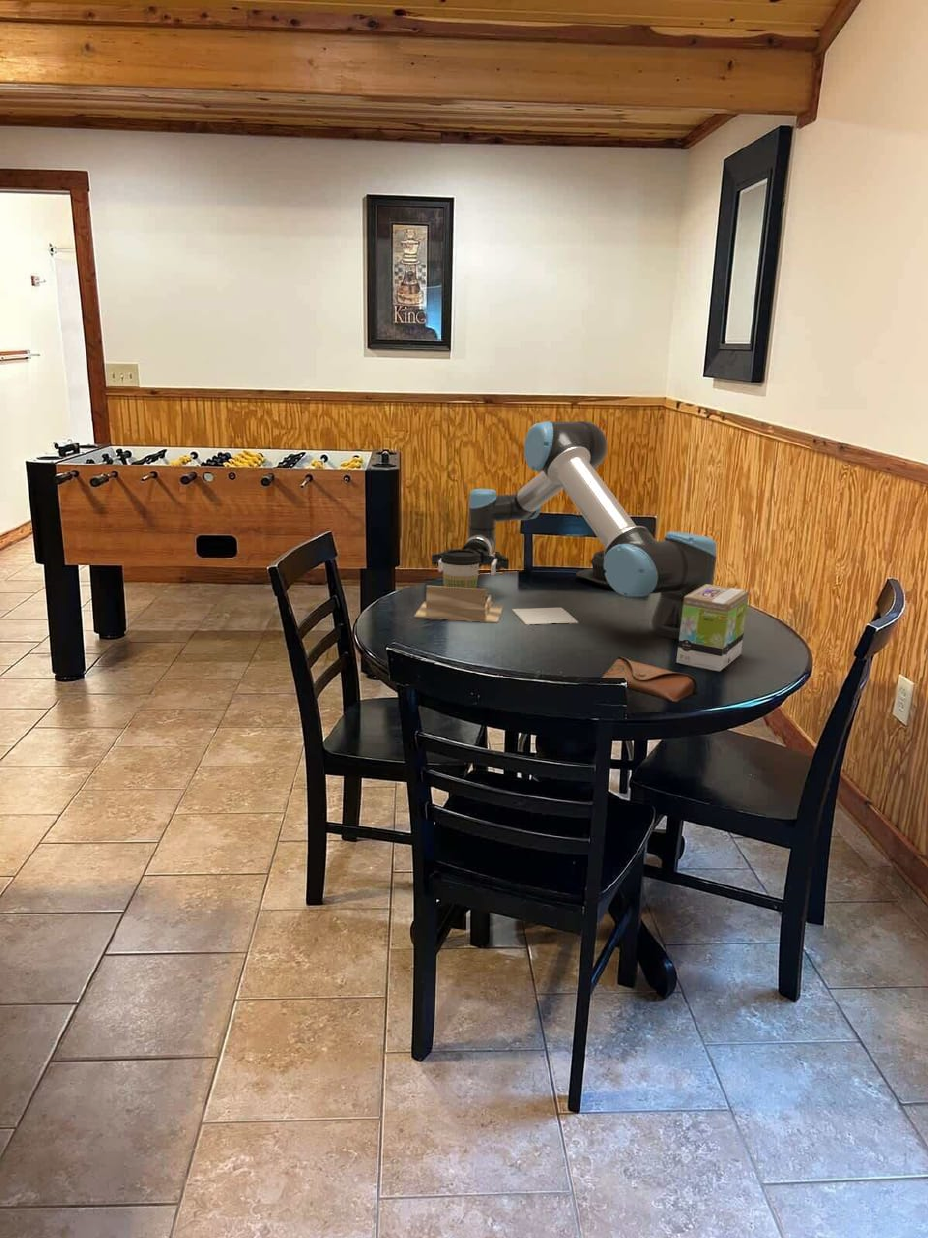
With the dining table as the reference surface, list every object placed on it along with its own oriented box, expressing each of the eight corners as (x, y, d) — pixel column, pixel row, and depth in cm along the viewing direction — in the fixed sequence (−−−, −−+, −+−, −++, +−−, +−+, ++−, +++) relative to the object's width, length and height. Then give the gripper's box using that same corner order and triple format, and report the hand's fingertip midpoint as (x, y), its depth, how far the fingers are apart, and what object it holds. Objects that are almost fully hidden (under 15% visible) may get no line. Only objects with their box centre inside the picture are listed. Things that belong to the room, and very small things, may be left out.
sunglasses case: (594, 680, 182) (605, 648, 183) (608, 689, 188) (619, 659, 189) (676, 703, 171) (688, 669, 172) (689, 712, 177) (700, 680, 178)
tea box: (722, 673, 189) (730, 603, 185) (674, 663, 194) (681, 595, 190) (742, 654, 201) (750, 588, 197) (697, 646, 206) (704, 581, 202)
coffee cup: (454, 620, 221) (456, 558, 217) (431, 610, 228) (432, 551, 224) (487, 614, 226) (489, 554, 222) (463, 605, 234) (465, 547, 230)
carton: (426, 599, 238) (426, 569, 236) (504, 604, 236) (505, 574, 234) (413, 617, 222) (414, 585, 220) (497, 623, 219) (498, 590, 217)
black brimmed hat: (672, 584, 262) (675, 555, 260) (649, 598, 247) (651, 567, 244) (591, 572, 274) (593, 544, 272) (564, 584, 259) (566, 554, 257)
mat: (578, 623, 221) (578, 621, 221) (525, 625, 218) (526, 623, 218) (561, 608, 233) (561, 607, 233) (511, 610, 231) (511, 609, 231)
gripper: (521, 567, 254) (514, 585, 234) (431, 562, 257) (417, 579, 237) (522, 540, 252) (515, 556, 232) (432, 535, 255) (417, 551, 235)
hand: (466, 568), depth 234 cm, fingers open, 13 cm apart
